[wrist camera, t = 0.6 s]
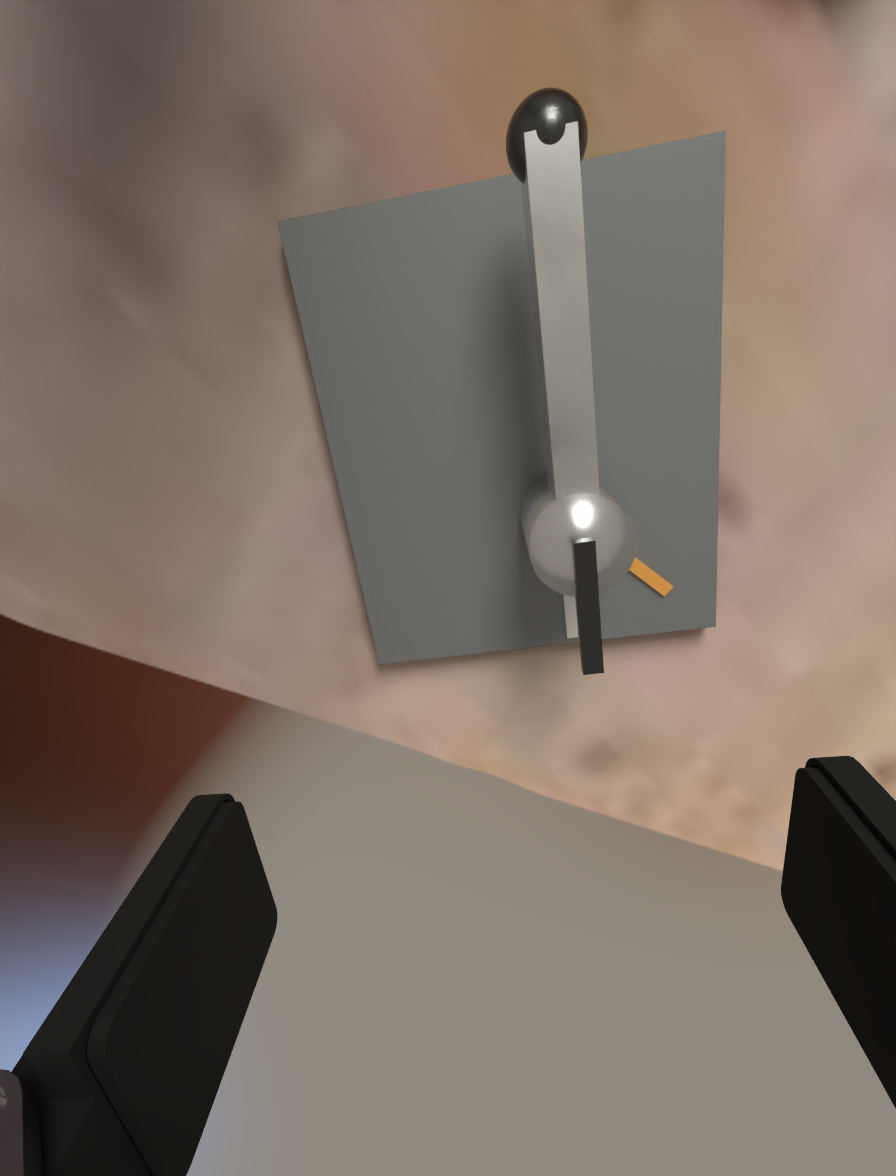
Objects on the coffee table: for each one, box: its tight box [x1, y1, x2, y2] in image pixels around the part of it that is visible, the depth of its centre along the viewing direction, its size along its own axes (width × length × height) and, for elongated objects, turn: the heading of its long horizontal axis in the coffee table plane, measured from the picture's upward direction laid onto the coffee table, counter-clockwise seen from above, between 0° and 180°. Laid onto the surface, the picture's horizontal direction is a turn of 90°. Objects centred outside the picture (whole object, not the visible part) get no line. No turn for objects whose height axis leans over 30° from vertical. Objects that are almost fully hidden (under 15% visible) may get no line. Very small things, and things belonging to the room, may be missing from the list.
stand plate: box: [278, 131, 726, 665], centre depth 33 cm, size 26×22×2 cm
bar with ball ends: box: [506, 88, 637, 675], centre depth 27 cm, size 25×5×8 cm, turn 9°
